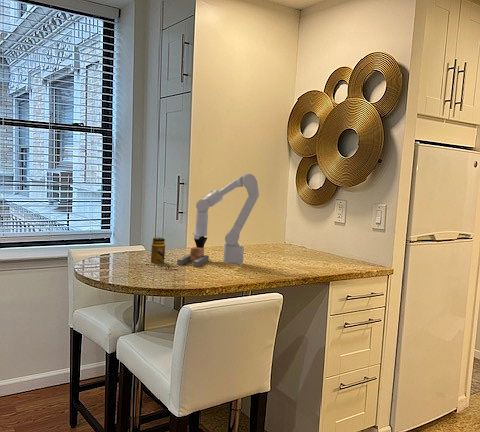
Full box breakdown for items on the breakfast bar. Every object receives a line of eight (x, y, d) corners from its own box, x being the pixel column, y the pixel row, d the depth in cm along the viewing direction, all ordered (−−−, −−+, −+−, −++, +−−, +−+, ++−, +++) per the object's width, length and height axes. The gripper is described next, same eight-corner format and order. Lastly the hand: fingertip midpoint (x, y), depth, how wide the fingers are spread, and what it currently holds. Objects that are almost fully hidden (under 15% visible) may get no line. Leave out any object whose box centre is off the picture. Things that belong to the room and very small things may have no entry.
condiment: (164, 266, 216) (166, 239, 215) (145, 265, 214) (146, 238, 213) (165, 263, 223) (166, 237, 222) (146, 262, 222) (147, 236, 221)
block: (203, 260, 232) (204, 247, 231) (200, 261, 227) (201, 249, 226) (193, 259, 233) (194, 246, 232) (190, 260, 228) (190, 248, 227)
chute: (208, 262, 232) (208, 255, 232) (197, 268, 215) (197, 261, 214) (189, 259, 234) (189, 253, 234) (176, 266, 217) (177, 259, 216)
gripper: (198, 222, 240) (196, 249, 241) (188, 224, 226) (187, 253, 227) (211, 223, 239) (209, 250, 240) (203, 226, 224) (201, 255, 226)
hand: (199, 252), depth 233 cm, fingers closed
